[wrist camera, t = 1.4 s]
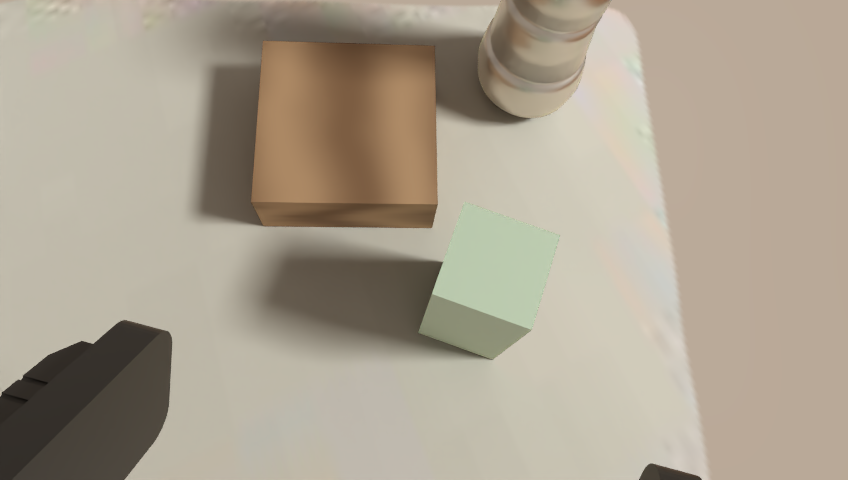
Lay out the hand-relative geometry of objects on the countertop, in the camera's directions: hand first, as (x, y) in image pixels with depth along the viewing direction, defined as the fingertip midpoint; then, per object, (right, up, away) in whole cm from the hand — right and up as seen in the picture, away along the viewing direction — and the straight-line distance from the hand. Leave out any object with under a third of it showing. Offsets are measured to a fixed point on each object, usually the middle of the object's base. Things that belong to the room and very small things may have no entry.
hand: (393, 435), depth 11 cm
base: (-4, +9, +30) cm, 31 cm away
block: (+3, -1, +27) cm, 27 cm away
